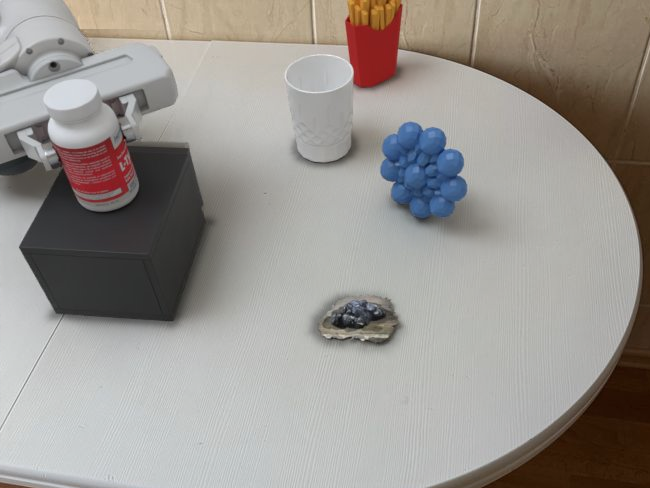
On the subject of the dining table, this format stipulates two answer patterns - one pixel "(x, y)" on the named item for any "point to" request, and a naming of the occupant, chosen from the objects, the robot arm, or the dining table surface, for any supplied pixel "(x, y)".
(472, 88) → the dining table surface
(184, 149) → the drawer
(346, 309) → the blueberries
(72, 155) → the pill bottle
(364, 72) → the french fries
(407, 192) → the grapes
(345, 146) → the white cup
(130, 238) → the cabinet
